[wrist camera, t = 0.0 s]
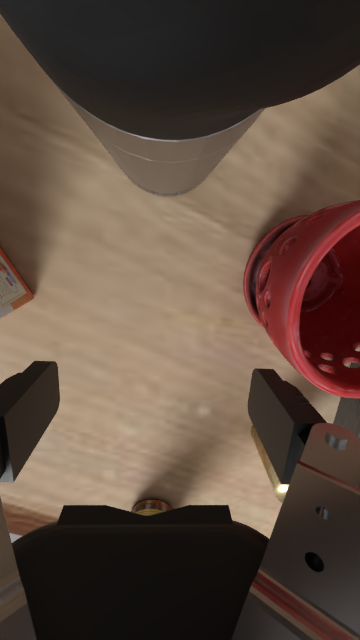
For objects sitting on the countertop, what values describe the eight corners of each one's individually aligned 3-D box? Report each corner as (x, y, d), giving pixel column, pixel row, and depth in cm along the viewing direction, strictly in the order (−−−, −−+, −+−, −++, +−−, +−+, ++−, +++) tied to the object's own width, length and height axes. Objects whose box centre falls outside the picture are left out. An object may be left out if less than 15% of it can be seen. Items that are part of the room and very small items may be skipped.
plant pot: (277, 358, 31) (342, 435, 19) (210, 263, 27) (242, 290, 16) (384, 288, 29) (527, 328, 17) (328, 174, 25) (463, 132, 14)
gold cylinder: (253, 414, 33) (279, 470, 26) (289, 415, 33) (325, 471, 26) (248, 444, 34) (271, 505, 27) (282, 444, 35) (315, 505, 27)
